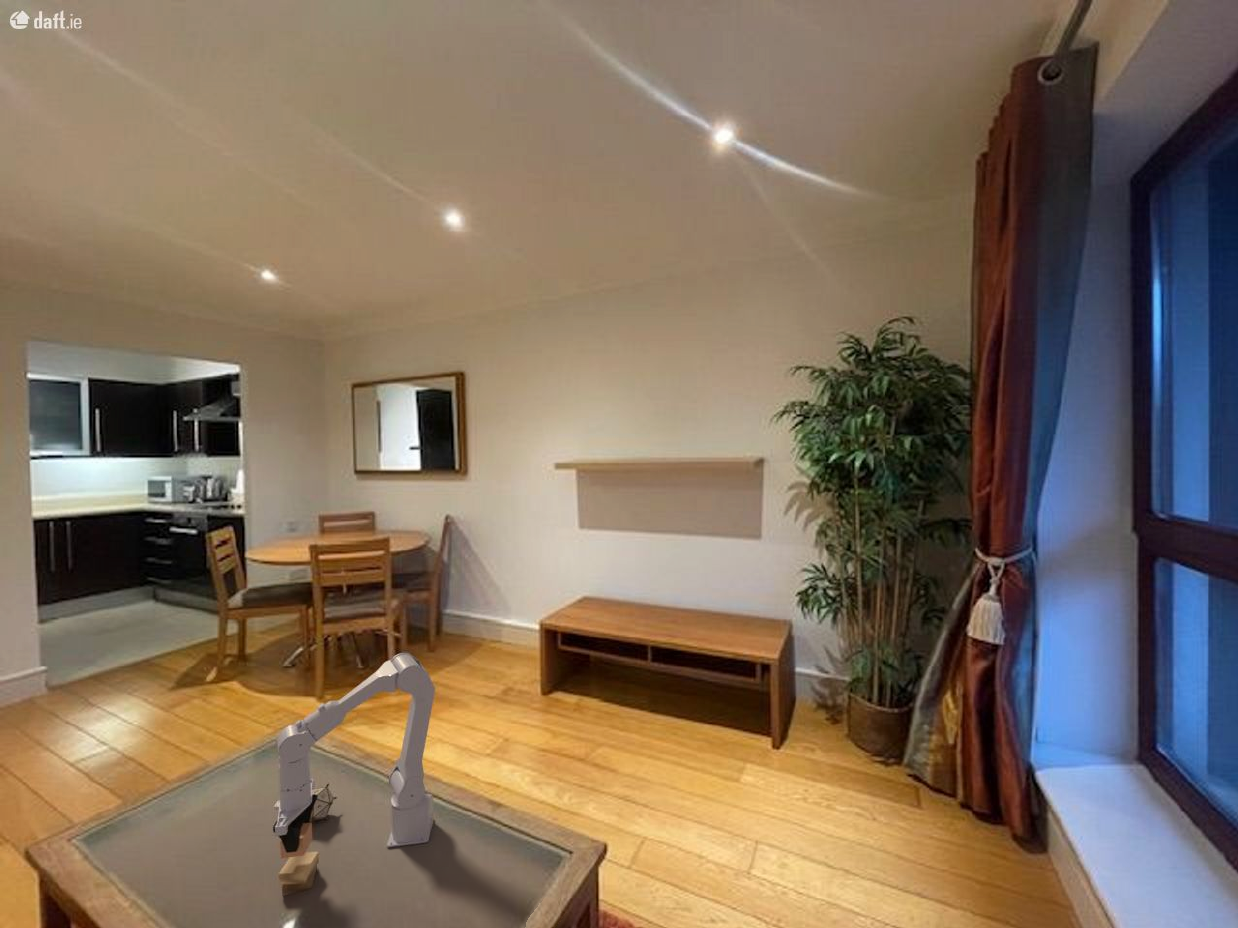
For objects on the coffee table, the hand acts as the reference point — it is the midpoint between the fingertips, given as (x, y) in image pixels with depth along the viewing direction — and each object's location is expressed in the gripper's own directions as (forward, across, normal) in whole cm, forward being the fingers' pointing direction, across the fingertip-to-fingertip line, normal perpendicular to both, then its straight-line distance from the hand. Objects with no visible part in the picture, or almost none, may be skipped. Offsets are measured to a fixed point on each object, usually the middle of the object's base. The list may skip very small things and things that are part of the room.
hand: (297, 841), depth 113 cm
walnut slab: (+10, 0, 0) cm, 10 cm away
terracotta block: (+2, 0, 0) cm, 2 cm away
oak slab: (+7, 0, 0) cm, 7 cm away
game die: (+10, -20, -4) cm, 22 cm away
